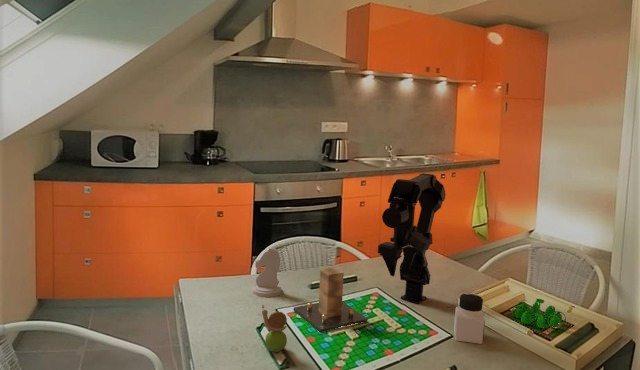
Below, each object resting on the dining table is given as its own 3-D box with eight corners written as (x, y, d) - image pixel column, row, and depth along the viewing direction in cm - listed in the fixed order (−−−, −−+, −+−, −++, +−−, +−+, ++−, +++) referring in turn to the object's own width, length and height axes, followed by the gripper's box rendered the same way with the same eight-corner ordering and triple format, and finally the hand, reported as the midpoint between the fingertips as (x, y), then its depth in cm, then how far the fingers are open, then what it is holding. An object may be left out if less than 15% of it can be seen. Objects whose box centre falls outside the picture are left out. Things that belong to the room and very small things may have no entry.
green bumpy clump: (569, 337, 137) (572, 314, 136) (513, 328, 141) (515, 305, 140) (560, 316, 151) (562, 295, 150) (509, 308, 155) (511, 288, 154)
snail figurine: (261, 345, 124) (262, 301, 122) (286, 345, 125) (287, 301, 123) (260, 356, 119) (261, 310, 117) (286, 355, 119) (288, 310, 117)
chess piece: (256, 285, 166) (256, 242, 163) (284, 287, 165) (285, 244, 162) (249, 295, 156) (249, 251, 154) (278, 298, 155) (280, 253, 153)
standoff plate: (338, 301, 154) (338, 293, 153) (367, 322, 140) (367, 312, 140) (293, 310, 146) (293, 301, 146) (319, 332, 132) (320, 322, 132)
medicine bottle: (482, 344, 130) (487, 302, 128) (455, 341, 131) (459, 299, 129) (479, 332, 136) (483, 292, 135) (453, 329, 138) (457, 289, 136)
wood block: (332, 308, 146) (334, 267, 144) (341, 314, 142) (343, 272, 140) (318, 311, 144) (320, 269, 142) (326, 317, 140) (328, 274, 138)
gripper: (413, 232, 131) (408, 287, 133) (443, 222, 145) (438, 272, 147) (378, 224, 137) (374, 277, 140) (410, 215, 152) (406, 263, 154)
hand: (400, 272), depth 145 cm, fingers open, 9 cm apart
